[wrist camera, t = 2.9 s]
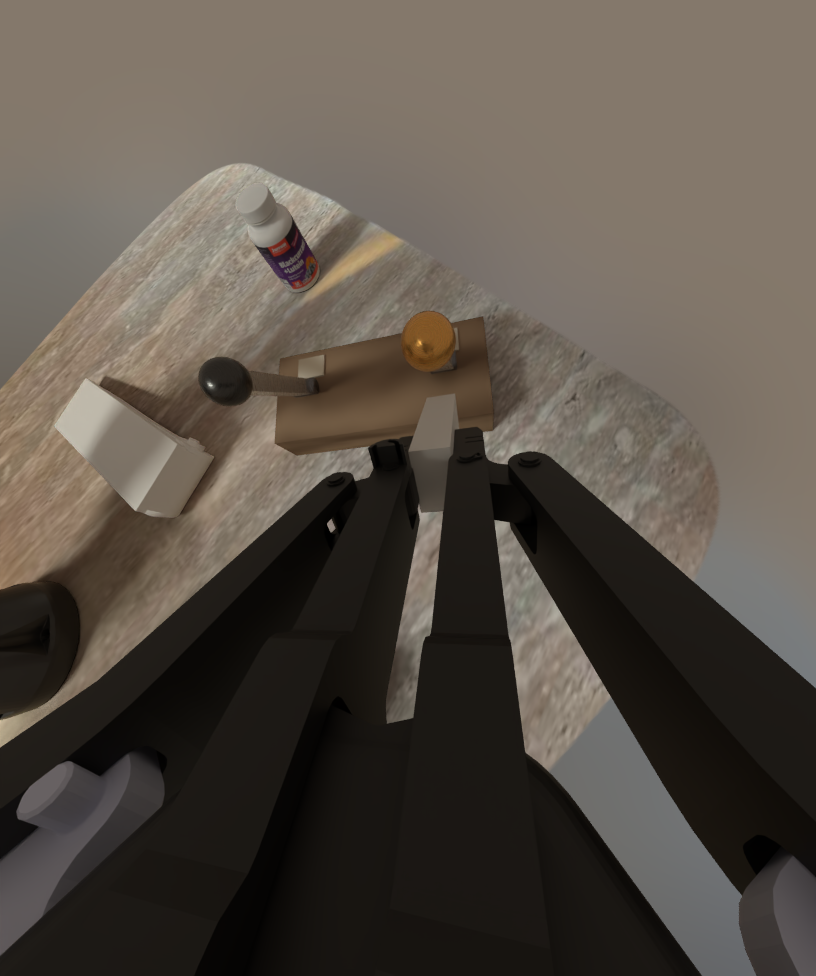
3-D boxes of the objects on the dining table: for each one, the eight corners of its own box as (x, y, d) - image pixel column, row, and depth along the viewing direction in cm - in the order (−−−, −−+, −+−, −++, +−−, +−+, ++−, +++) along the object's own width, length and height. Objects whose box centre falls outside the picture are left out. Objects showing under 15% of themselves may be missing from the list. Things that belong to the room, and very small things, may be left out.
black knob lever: (325, 401, 32) (236, 403, 20) (298, 406, 32) (195, 410, 20) (319, 369, 31) (221, 349, 19) (291, 374, 32) (179, 358, 19)
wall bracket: (116, 445, 52) (203, 521, 39) (51, 436, 45) (131, 525, 33) (131, 387, 50) (226, 448, 38) (66, 370, 43) (155, 437, 31)
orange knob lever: (462, 378, 29) (457, 363, 16) (428, 384, 29) (399, 373, 17) (459, 342, 28) (451, 297, 16) (424, 348, 28) (390, 310, 16)
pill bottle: (302, 300, 41) (248, 225, 31) (278, 284, 42) (220, 207, 33) (328, 269, 41) (283, 185, 31) (303, 254, 42) (253, 170, 33)
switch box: (492, 430, 31) (493, 412, 27) (296, 455, 36) (273, 442, 32) (483, 343, 33) (483, 314, 29) (300, 378, 38) (278, 357, 34)
